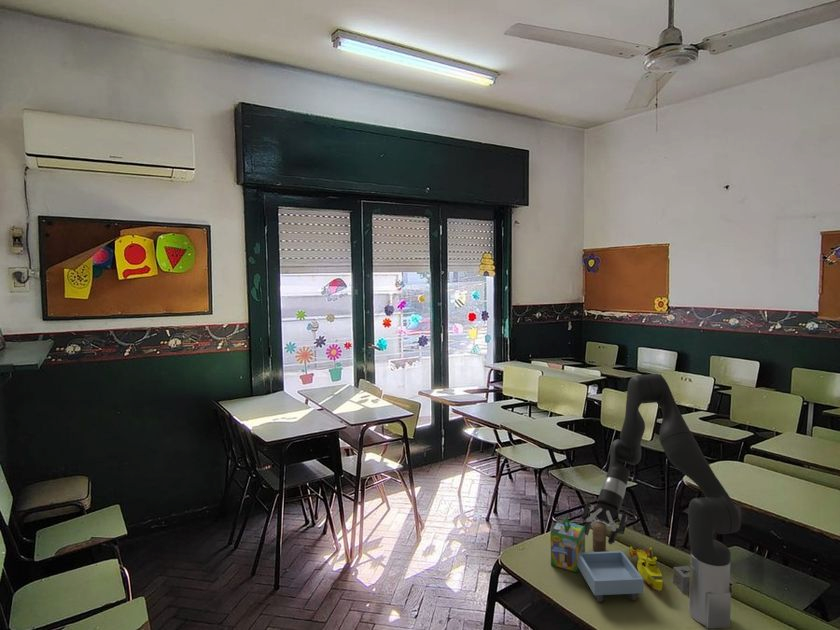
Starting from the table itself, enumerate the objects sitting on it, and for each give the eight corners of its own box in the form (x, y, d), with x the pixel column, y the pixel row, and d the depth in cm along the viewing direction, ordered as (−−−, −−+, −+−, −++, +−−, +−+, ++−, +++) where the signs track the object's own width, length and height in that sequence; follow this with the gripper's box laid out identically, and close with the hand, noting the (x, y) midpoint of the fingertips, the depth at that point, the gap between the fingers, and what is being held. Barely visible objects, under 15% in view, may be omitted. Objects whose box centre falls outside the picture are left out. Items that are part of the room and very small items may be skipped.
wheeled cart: (643, 603, 141) (643, 579, 140) (594, 605, 140) (594, 581, 140) (621, 573, 155) (622, 550, 154) (577, 575, 154) (577, 552, 154)
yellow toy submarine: (649, 562, 160) (649, 532, 159) (671, 599, 143) (672, 566, 142) (628, 561, 161) (628, 531, 160) (648, 598, 143) (649, 565, 142)
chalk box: (578, 574, 155) (579, 528, 153) (549, 565, 160) (549, 521, 158) (586, 559, 163) (586, 515, 161) (558, 551, 168) (558, 509, 166)
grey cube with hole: (672, 582, 150) (673, 567, 149) (688, 581, 150) (688, 565, 150) (682, 593, 145) (683, 577, 144) (699, 592, 145) (699, 576, 145)
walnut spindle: (607, 553, 165) (608, 527, 165) (595, 554, 165) (595, 528, 165) (602, 546, 170) (603, 521, 169) (590, 546, 170) (590, 521, 169)
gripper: (589, 483, 176) (573, 527, 169) (630, 495, 166) (615, 542, 159) (595, 492, 180) (580, 535, 173) (635, 504, 171) (622, 551, 163)
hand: (597, 538), depth 166 cm, fingers open, 8 cm apart
